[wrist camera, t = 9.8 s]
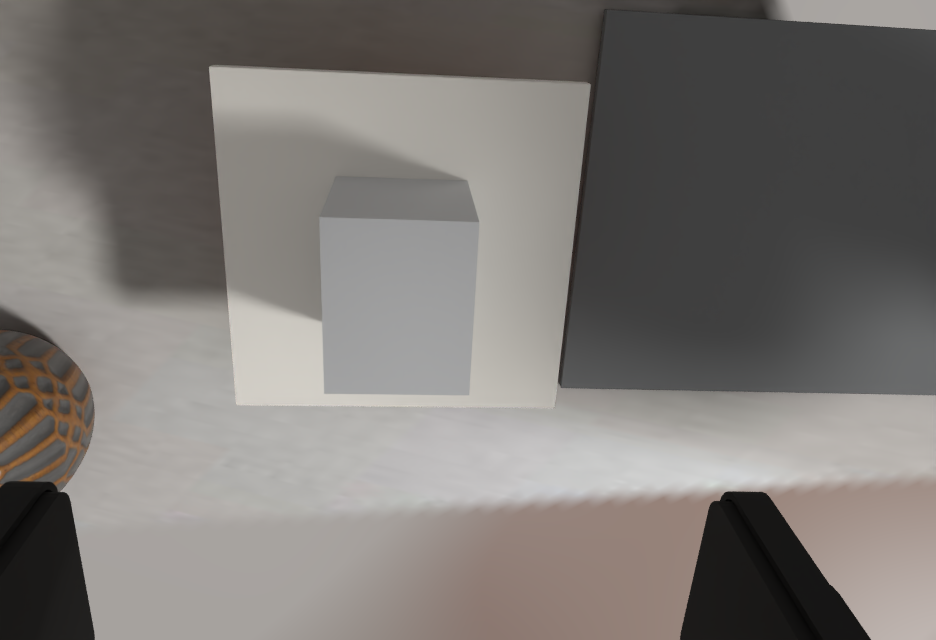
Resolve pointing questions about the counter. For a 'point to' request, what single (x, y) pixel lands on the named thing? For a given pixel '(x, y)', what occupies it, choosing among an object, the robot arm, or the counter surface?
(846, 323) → the mat
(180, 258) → the counter surface
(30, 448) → the vase
